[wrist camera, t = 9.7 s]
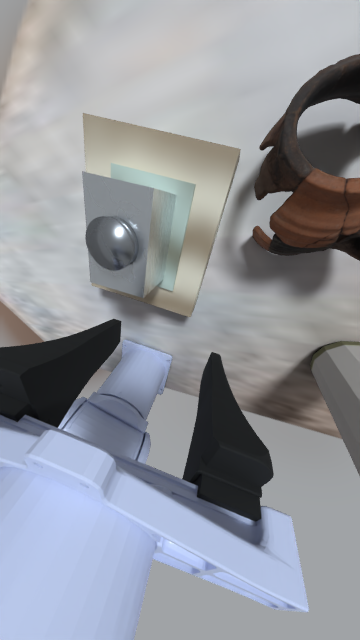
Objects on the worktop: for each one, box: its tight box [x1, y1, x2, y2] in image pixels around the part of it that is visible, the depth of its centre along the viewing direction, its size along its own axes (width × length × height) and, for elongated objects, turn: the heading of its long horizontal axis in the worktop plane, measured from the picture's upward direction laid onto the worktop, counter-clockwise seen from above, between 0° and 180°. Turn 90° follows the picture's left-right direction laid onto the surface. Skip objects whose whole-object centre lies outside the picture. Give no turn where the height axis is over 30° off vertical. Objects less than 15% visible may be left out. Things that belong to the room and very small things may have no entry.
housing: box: [82, 171, 177, 298], centre depth 14 cm, size 7×4×6 cm, turn 168°
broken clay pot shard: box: [253, 54, 360, 261], centre depth 13 cm, size 12×10×8 cm
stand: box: [83, 113, 240, 317], centre depth 18 cm, size 14×12×3 cm
